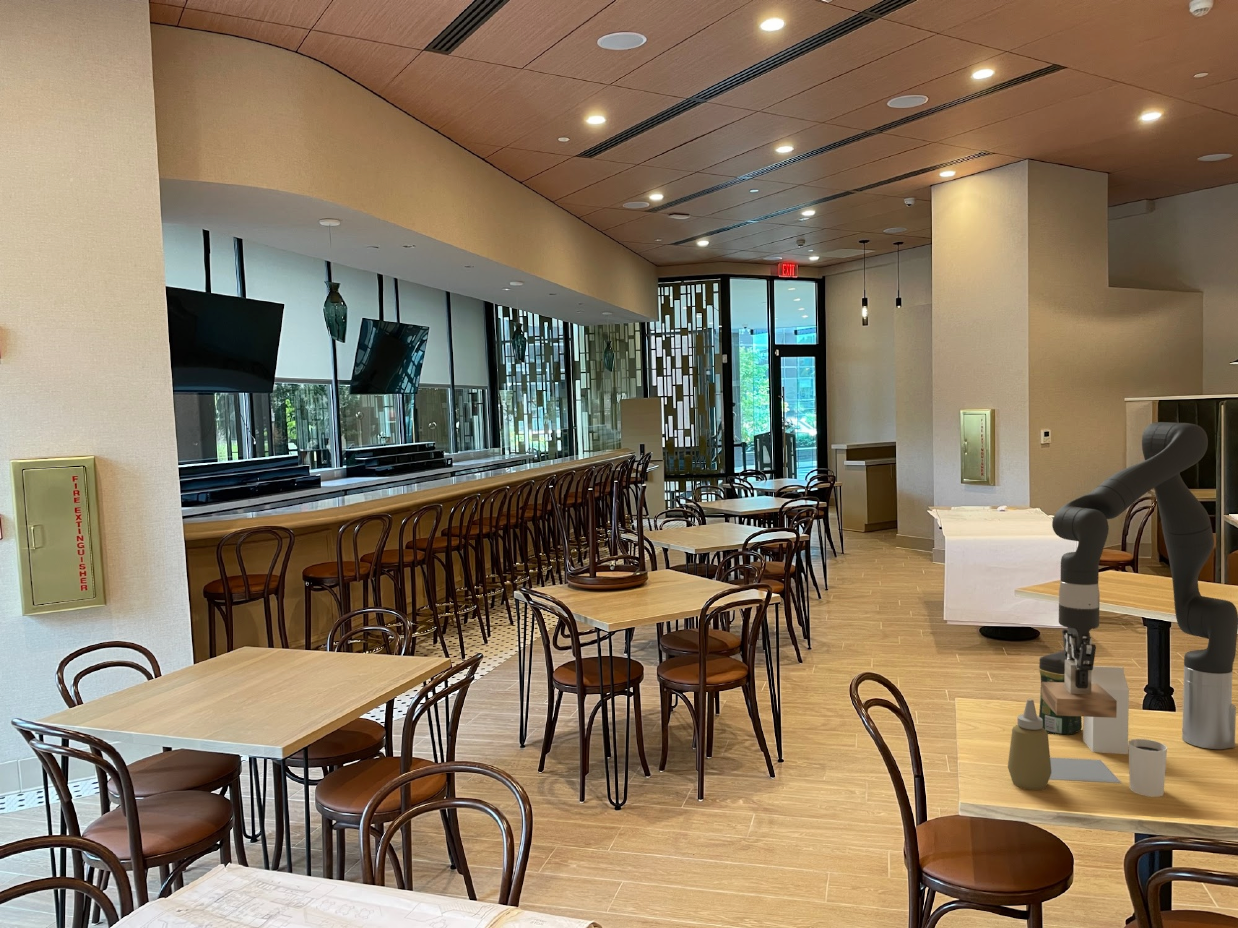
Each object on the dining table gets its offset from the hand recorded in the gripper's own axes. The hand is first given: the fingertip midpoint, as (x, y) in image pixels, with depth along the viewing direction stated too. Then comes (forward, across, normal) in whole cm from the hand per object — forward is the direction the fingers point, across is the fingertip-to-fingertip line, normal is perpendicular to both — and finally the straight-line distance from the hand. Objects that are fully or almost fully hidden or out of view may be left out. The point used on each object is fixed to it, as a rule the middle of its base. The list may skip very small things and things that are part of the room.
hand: (1077, 683), depth 186 cm
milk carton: (+19, +14, -10) cm, 26 cm away
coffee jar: (+19, +26, -4) cm, 33 cm away
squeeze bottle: (+19, -9, +12) cm, 24 cm away
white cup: (+19, -9, -10) cm, 24 cm away
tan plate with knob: (+5, 0, 0) cm, 5 cm away
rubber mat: (+19, 0, 0) cm, 19 cm away
